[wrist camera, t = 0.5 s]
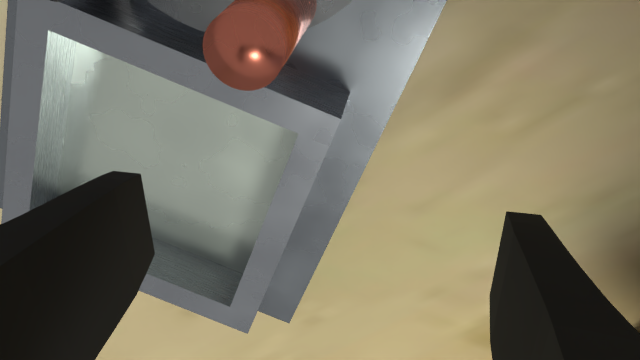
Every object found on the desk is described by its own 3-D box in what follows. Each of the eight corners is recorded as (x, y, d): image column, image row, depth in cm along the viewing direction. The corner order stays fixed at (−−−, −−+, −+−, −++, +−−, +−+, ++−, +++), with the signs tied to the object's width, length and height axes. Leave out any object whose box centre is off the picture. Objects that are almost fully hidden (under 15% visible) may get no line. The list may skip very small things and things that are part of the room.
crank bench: (591, -308, 14) (636, -343, 11) (294, 306, 26) (271, 380, 23) (68, -546, 14) (-56, -660, 10) (10, 192, 26) (-56, 250, 22)
